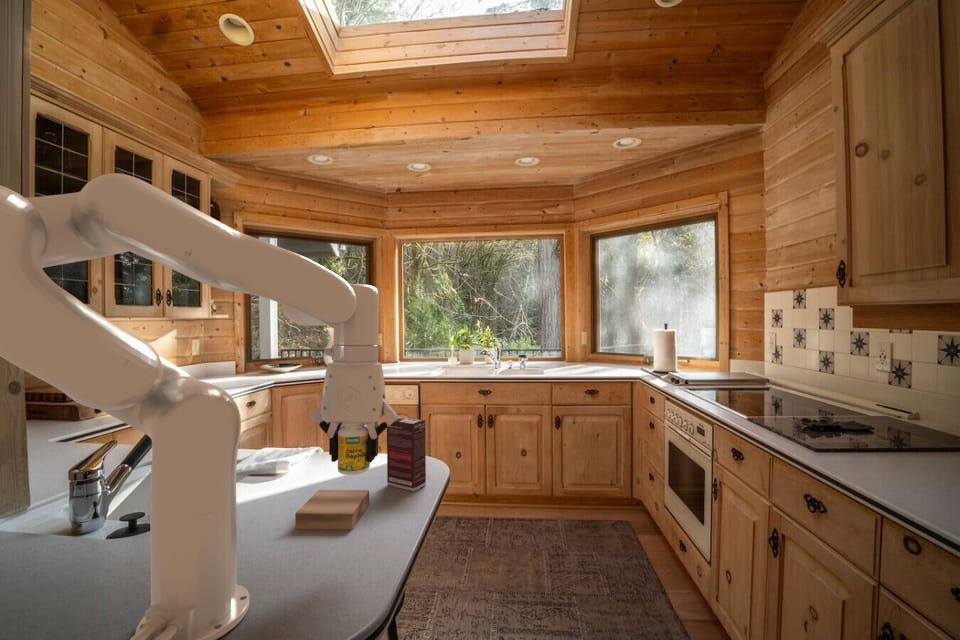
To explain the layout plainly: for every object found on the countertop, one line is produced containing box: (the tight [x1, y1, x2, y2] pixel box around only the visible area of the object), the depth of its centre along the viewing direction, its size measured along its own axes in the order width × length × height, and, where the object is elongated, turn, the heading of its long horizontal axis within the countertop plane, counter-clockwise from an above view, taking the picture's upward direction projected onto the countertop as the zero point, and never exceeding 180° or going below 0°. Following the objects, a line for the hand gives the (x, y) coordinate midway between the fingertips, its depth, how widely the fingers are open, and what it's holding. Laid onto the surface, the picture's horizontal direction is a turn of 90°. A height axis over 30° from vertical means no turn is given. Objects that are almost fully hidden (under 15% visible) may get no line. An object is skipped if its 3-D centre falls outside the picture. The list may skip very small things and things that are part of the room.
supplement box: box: [386, 415, 427, 492], centre depth 102 cm, size 9×5×16 cm, turn 59°
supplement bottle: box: [337, 423, 371, 476], centre depth 74 cm, size 5×5×10 cm
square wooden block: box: [294, 489, 370, 531], centre depth 86 cm, size 11×11×3 cm
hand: (353, 458), depth 74 cm, fingers closed on supplement bottle, 5 cm apart
